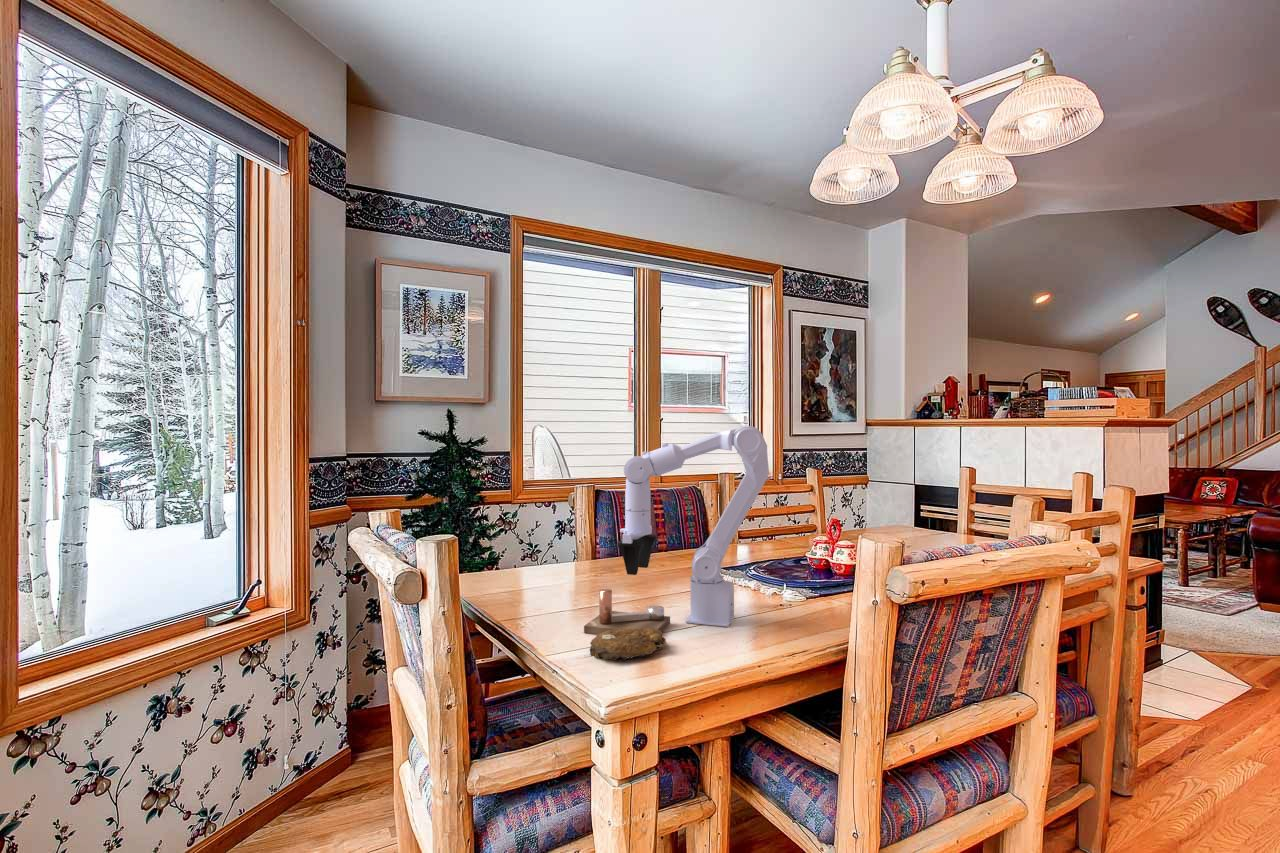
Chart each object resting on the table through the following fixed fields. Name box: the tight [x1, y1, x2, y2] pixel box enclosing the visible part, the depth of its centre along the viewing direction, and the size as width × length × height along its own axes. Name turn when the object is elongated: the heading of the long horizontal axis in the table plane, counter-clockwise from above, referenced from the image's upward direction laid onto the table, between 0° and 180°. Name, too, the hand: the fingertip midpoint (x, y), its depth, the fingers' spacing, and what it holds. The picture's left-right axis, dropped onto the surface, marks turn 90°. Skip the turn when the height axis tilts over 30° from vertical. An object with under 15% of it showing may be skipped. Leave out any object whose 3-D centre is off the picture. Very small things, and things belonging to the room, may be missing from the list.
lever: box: [598, 588, 665, 624], centre depth 131 cm, size 14×4×6 cm, turn 106°
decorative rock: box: [589, 628, 668, 661], centre depth 117 cm, size 11×4×15 cm
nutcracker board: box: [583, 610, 671, 636], centre depth 131 cm, size 15×12×2 cm
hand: (637, 570), depth 139 cm, fingers open, 7 cm apart
